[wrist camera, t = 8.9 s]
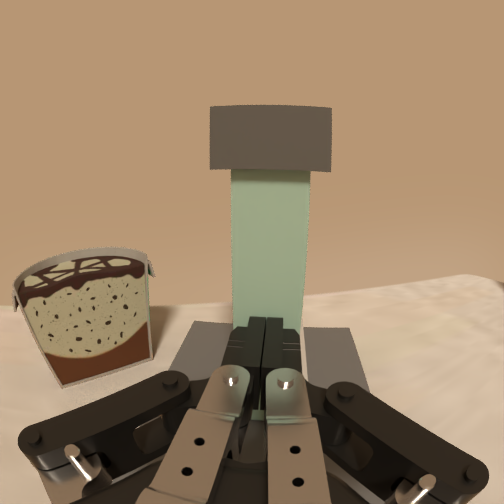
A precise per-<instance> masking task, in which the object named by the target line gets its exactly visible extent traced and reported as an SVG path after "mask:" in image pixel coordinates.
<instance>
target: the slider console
mask: <svg viewBox="0 0 504 504" xmlns="http://www.w3.org/2000/svg"><path fill="white" fill-rule="evenodd" d="M232 331H233V324H227V323H214V322H202V321H194V322H193V324H192V326H191V328H190V330H189V332H188V334H187V336H186V338H185V339H184V341H183V343H182V345H181V347H180V349H179V351H178V353H177V355H176V357H175V359H174V360H173V362H172V364H171V366H170V368H169V370H174V371H179V372H182V373H184V374H185V375H186V376H187V377H188V378H189V381H193V380H202V379H207V378H209V377H211V375H212V373H213V371H214V370H216V369H217V368H219V367H220V366H221V363H222V360H223V356H224V353H225V350H226V347H227V343H228V341H229V337H230V333H231V332H232ZM300 345H301V360H302V374H303V376H304V378H305V379H306V380H307V381H308V382H309V383H311V384H312V385H315V386H318V387H321V388H326V389H328V387H329V386H330V385H332V384H334V383H336V382H342V381H347V382H352V383H355V384H357V385H359V386H360V387H362V388H363V389H365V390H366V391H368V392H369V393H370V391H369V387H368V384H367V381H366V378H365V374H364V371H363V368H362V365H361V362H360V359H359V356H358V353H357V350H356V347H355V344H354V341H353V338H352V335H351V332H350V329H349V328H314V327H303V320H302V318H301V328H300ZM169 370H168V371H169ZM159 417H161V416H158V417H156V418H154V419H152V420H150V421H148V422H146V423H144V424H142V425H140V427H141V426H143V425H145V424H147V423H149V422H151V421H153V420H155V419H157V418H159ZM263 425H264V421H263V420H250V426H249V430H248V434H247V438H246V442H245V446H244V450H243V453H242V457H241V462H242V463H247V464H249V463H258V462H263ZM165 455H166V453H165V454H164V455H162V456H160V457H158V458H156V459H154V460H152V461H151V462H149V463H147V464H145V465H143V466H141V467H139V468H137V469H135V470H133V471H131V472H129V473H126V474H124V475H122V476H120V477H118V478H116V479H113V481H112V484H114V483H116V482H118V481H120V480H122V479H124V478H126V477H127V476H129V475H131V474H133V473H135V472H137V471H139V470H141V469H142V468H144V467H146V466H148V465H150V464H152V463H154V462H156V461H159V460H162V459H164V457H165ZM323 457H324V463H325V469H326V471H327V472H330V473H332V474H334V475H336V476H337V477H339V478H340V479H342V480H343V481H344V482H346V483H347V484H348V485H349V486H350V487H351V488H352V489H354V490H355V491H356V492H357V493H358V494H359V495H361V496H362V497H363V498H364V499H365V500H366V501H368V502H369V503H370V504H384V503H385V502H384V501H383V500H382V499H380V498H379V497H378V496H376V495H375V494H374V493H372V492H371V491H370V490H368V489H367V488H366V487H364V486H363V485H362V484H361V483H359V482H358V481H357V480H356V479H354V478H353V477H352V476H351V475H349V474H348V473H347V472H346V471H344V470H343V469H342V468H341V467H340V466H338V465H337V464H336V463H335V462H334V461H333V460H331V459H330V458H329V457H328V456H327V455H326V454H324V453H323Z"/></svg>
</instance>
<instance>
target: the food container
mask: <svg viewBox="0 0 504 504" xmlns="http://www.w3.org/2000/svg"><path fill="white" fill-rule="evenodd" d="M148 274H149V275H151V276H152V277H155V274H154V271H153V267H152V264H151V262H150V261H149V260H148V259H147V254H145V253H144V252H141V251H139V250H135V249H131V248H124V247H97V248H88V249H81V250H76V251H71V252H67V253H63V254H59V255H56V256H53V257H50V258H47V259H45V260H42V261H40V262H38V263H36V264H34V265H32V266H30V267H29V268H27V269H26V270H24V271H23V272H22V273H21V274H20V275H19V276H18V277H17V278H16V279H15V281H14V283H13V289H14V290H13V293H12V299H13V307H14V312H16V310H17V307H18V305H19V306H20V308H21V310H22V313H23V315H24V317H25V320H26V322H27V324H28V326H29V329H30V331H31V333H32V335H33V337H34V339H35V341H36V343H37V345H38V347H39V349H40V351H41V353H42V355H43V357H44V359H45V360H46V362H47V364H48V366H49V368H50V369H51V371H52V373H53V375H54V376H55V378H56V380H57V381H58V383H59V385H60V386H61V388H62V389H63V388H66V387H70V386H73V385H77V384H80V383H83V382H87V381H90V380H93V379H96V378H100V377H103V376H106V375H109V374H112V373H115V372H118V371H121V370H124V369H127V368H130V367H133V366H136V365H139V364H142V363H145V362H148V361H151V360H153V352H152V341H151V328H150V312H149V292H148Z"/></svg>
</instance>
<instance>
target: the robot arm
mask: <svg viewBox="0 0 504 504" xmlns="http://www.w3.org/2000/svg"><path fill="white" fill-rule="evenodd" d="M260 392H261V397H260ZM259 400H260V410H264V425H263V462H258V463H249V464H247V463H242V462H241V457H242V453H243V450H244V446H245V442H246V438H247V434H248V430H249V426H250V420H251V417H252V411H253V410H258V409H259ZM158 416H161V417H159V418H157V419H155V420H153V421H151V422H149V423H147V424H145V425H143V426H141V427H139V428H137V427H138V426H140V425H142V424H144V423H146V422H148V421H150V420H152V419H154V418H156V417H158ZM135 428H137V429H135ZM18 446H19V448H20V450H21V451H22V452H23V453H24V455H25V456H26V457H27V458H28V459H29V460H30V462H31V464H32V465H33V466H34V467H35V468H36V470H37V471H38V472H39V475H40V477H41V480H42V482H43V485H44V487H45V489H46V492H47V494H48V496H49V498H50V501H51V503H52V504H370V503H369V502H368V501H366V500H365V499H364V498H363V497H362V496H361V495H359V494H358V493H357V492H356V491H355V490H354V489H352V488H351V487H350V486H349V485H348V484H347V483H346V482H344V481H343V480H342V479H340V478H339V477H337V476H336V475H334V474H332V473H330V472H327V471H326V469H325V463H324V457H323V453H324V454H326V455H327V456H328V457H329V458H330V459H331V460H333V461H334V462H335V463H336V464H337V465H338V466H340V467H341V468H342V469H343V470H344V471H346V472H347V473H348V474H349V475H351V476H352V477H353V478H354V479H356V480H357V481H358V482H359V483H361V484H362V485H363V486H364V487H366V488H367V489H368V490H370V491H371V492H372V493H374V494H375V495H376V496H378V497H379V498H380V499H382V500H383V501H384V502H385V503H384V504H467V503H468V502H469V501H470V500H471V499H472V498H474V497H475V496H476V495H477V494H478V493H479V492H480V491H482V490H483V489H484V488H485V486H486V485H487V483H488V480H489V471H488V469H487V467H486V465H485V464H484V463H483V462H481V461H480V460H478V459H476V458H474V457H473V456H471V455H469V454H467V453H466V452H464V451H462V450H460V449H459V448H457V447H455V446H453V445H452V444H450V443H448V442H447V441H445V440H443V439H442V438H440V437H438V436H437V435H435V434H433V433H432V432H430V431H428V430H427V429H425V428H424V427H422V426H420V425H419V424H417V423H416V422H414V421H412V420H411V419H409V418H408V417H406V416H404V415H403V414H401V413H400V412H398V411H397V410H395V409H393V408H392V407H390V406H389V405H387V404H386V403H384V402H383V401H381V400H380V399H378V398H377V397H375V396H374V395H372V394H371V393H369V392H368V391H366V390H365V389H363V388H362V387H360V386H359V385H357V384H355V383H352V382H347V381H342V382H336V383H334V384H332V385H330V386H329V387H328V389H326V388H321V387H318V386H315V385H312V384H311V383H309V382H308V381H307V380H306V379H305V378H304V376H303V374H302V360H301V345H300V335H299V334H298V333H297V331H296V330H295V329H283V318H280V317H267V324H266V317H257V316H250V317H249V322H248V326H247V327H242V326H237V327H236V328H235V329H234V330H233V331H232V332H231V333H230V337H229V341H228V343H227V347H226V350H225V353H224V356H223V360H222V363H221V366H220V367H219V368H217V369H216V370H214V371H213V373H212V375H211V377H209V378H207V379H202V380H193V381H189V378H188V377H187V376H186V375H185V374H184V373H182V372H179V371H174V370H169V371H164V372H161V373H159V374H156V375H154V376H152V377H150V378H148V379H145V380H143V381H141V382H139V383H137V384H134V385H132V386H130V387H128V388H125V389H123V390H121V391H118V392H116V393H114V394H111V395H109V396H106V397H104V398H102V399H99V400H97V401H94V402H92V403H89V404H87V405H84V406H82V407H79V408H77V409H74V410H72V411H69V412H66V413H64V414H61V415H58V416H56V417H53V418H50V419H47V420H45V421H42V422H39V423H36V424H33V425H30V426H28V427H26V428H25V429H23V430H22V431H21V433H20V434H19V437H18ZM165 453H166V455H165V457H164V459H162V460H159V461H156V462H154V463H152V464H150V465H148V466H146V467H144V468H142V469H141V470H139V471H137V472H135V473H133V474H131V475H129V476H127V477H126V478H124V479H122V480H120V481H118V482H116V483H114V484H112V480H113V479H116V478H118V477H120V476H122V475H124V474H126V473H129V472H131V471H133V470H135V469H137V468H139V467H141V466H143V465H145V464H147V463H149V462H151V461H152V460H154V459H156V458H158V457H160V456H162V455H164V454H165Z"/></svg>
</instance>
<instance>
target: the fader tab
mask: <svg viewBox="0 0 504 504" xmlns="http://www.w3.org/2000/svg"><path fill="white" fill-rule="evenodd" d="M331 140H332V108H326V107H311V106H291V105H289V106H288V105H236V106H214V107H210V169H231V236H232V237H231V238H232V239H231V242H232V293H233V294H232V296H233V330H234V329H235V328H236V327H237V326H242V327H247V326H248V322H249V317H250V316H257V317H266V324H267V317H280V318H283V329H295V330H296V331H297V333H298V334H299V335H300V328H301V318H302V307H303V295H304V283H305V270H306V256H307V240H308V222H309V198H310V171H322V172H331V145H332V143H331V142H332V141H331ZM260 397H261V392H260ZM251 420H263V421H264V410H260V400H259V409H258V410H253V411H252V417H251Z"/></svg>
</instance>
